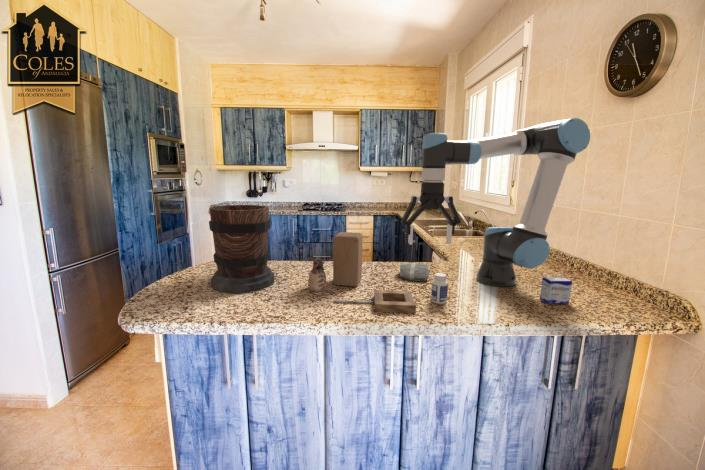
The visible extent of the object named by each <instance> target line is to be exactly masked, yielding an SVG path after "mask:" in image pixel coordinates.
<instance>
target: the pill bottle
mask: <svg viewBox="0 0 705 470" xmlns="http://www.w3.org/2000/svg"><path fill="white" fill-rule="evenodd" d="M448 288H449V282H448V281H447V274H445V273H441V272H437V273H434V279H432V281H431V294H430V295H431V297H430V301H431V302H432V303H434V304H437V305H438V304H439V305H443V304H446V303H447V301H448Z"/></svg>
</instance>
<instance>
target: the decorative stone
mask: <svg viewBox="0 0 705 470" xmlns="http://www.w3.org/2000/svg"><path fill="white" fill-rule="evenodd" d="M399 263H400V264H399V278H400V279H404V280H409V281H417V282H426V281H428V279H429V275H430V269H429V266H428V264H425V263H415V262H414V263H413V262H412V263H411V262H403V261H400V262H399Z"/></svg>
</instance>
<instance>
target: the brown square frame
mask: <svg viewBox="0 0 705 470" xmlns="http://www.w3.org/2000/svg"><path fill="white" fill-rule="evenodd" d="M373 298H374V299H373V300H374V301H372V300H371V301H370V300H365V301H364V300H345V299H344V300H341V299H340V300H339V299H335V300H334V299H333V304H334V303H335V304H337V303H338V304H358V303H360V304H364V305H366V304H367V305H374V312H378V313H379V312H382V313H406V314H407V313H408V314H409V313H410V314H416V313H417V305H416V302H415V299H414V296H413V292H412V291H411V290H391V289H390V290H389V289H388V290H383V289H374V293H373Z"/></svg>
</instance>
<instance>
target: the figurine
mask: <svg viewBox="0 0 705 470" xmlns="http://www.w3.org/2000/svg"><path fill="white" fill-rule="evenodd" d="M312 263H313V264H312V269H311V270H310V272H309V273H308V274H309V275H308V283H307V288H308V290H309V291H311V292H316V293H317V292H324V291H326V290H327V289H328V283H327V275H326V272H325V268H324V260H322V259H321V258H320V257H319V258H318V257H316V258H314V259H313V261H312Z"/></svg>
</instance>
